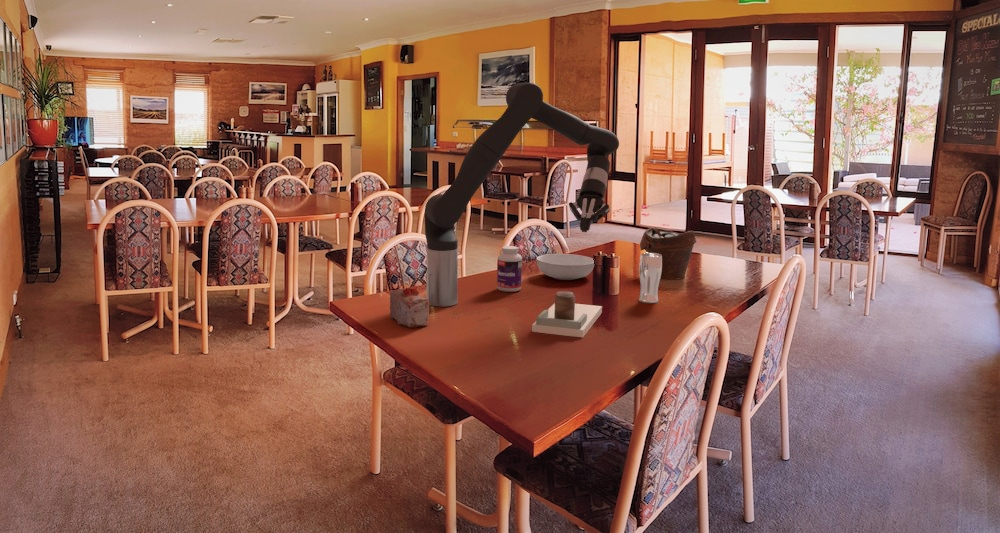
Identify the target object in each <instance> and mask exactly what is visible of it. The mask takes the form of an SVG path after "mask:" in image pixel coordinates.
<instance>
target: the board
mask: <svg viewBox="0 0 1000 533" xmlns="http://www.w3.org/2000/svg"><path fill="white" fill-rule="evenodd" d="M554 314H555V302H554V303H553V304H552V305H550V307H549V308H548V309H544V310H543V311H542V312H541V313H539V315H537V316H536V318H535V319H536V320H535V321H534V322H533V323H532V324H531V327H532V328H531V332H533V333H539V334H541V333H542V334H550V335H557V336H565V337H566V336H567V337H575V338H576V337H577V338H584V337H585V335H586V334H587V333H588V332H589V330H591V327H592V326H593V325H594V324H595V322H596V321H597V320H598V318H599V317H600V316H601V314H603V306H602V305H593V304H583V303H582V304H581V303H575V311H574V321H573V320H564V319H554Z"/></svg>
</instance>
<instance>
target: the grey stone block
mask: <svg viewBox="0 0 1000 533" xmlns="http://www.w3.org/2000/svg"><path fill="white" fill-rule="evenodd" d="M389 304H390V305H389V310H390V311H389V316H390V318H391V319H393V320H395V321H397V324H398V325H403V326H405V327H408V328H412V329H413V328H422V327H423V328H424V327H428V326H429V317H430V315H429V314H430V306H429V299H427V297H424V296H421V295H420V292H419V291H418V290H417V288H410V287H407V288H403V289H402V288H400V289H395V290H392V291H390V293H389Z"/></svg>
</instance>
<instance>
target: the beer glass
mask: <svg viewBox="0 0 1000 533" xmlns="http://www.w3.org/2000/svg"><path fill="white" fill-rule="evenodd" d="M638 266H639V267H638V272H639V273H638V274H639V281H640V282H639V283H640V284H639V285H640V292H639V293H640V294H639V298H638V301H639V302H640V303H644V304H657V303H659V296H658V295H659V294H658V292H659V290H658V289H659V285H660V281H661V278H660V277H661V272H662V255H661V254H657V253H646V252H642V253H641V254H640V258H639V265H638Z"/></svg>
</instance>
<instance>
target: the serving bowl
mask: <svg viewBox="0 0 1000 533" xmlns="http://www.w3.org/2000/svg"><path fill="white" fill-rule="evenodd" d="M593 259H594V258H592V257H589V256H585V255H580V254H571V253H547V254H541V255H537V257H536V264H537V267H538V270H539V271H540V272H541V273H542V274H544V275H545V276H547V277H551V278H553V279H555V280H560V281H575V280H577V279H581V278H584V277H587V276H588V275H589V274H591V273H592V271H593V269H594V267H595V264H594V260H595V259H594V260H593Z"/></svg>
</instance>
